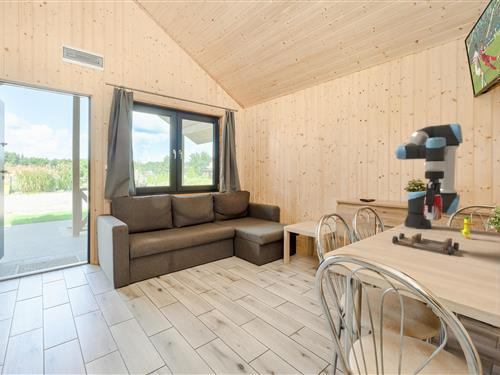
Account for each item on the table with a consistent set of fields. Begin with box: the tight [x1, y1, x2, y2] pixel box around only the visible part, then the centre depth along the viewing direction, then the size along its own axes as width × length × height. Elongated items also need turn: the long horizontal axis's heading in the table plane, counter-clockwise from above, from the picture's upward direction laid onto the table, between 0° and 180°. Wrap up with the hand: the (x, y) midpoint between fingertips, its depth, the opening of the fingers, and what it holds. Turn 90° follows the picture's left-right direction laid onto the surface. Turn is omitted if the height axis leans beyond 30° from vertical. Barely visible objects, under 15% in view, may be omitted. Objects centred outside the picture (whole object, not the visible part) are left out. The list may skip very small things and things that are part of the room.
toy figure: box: [460, 216, 478, 240], centre depth 139 cm, size 7×4×12 cm, turn 48°
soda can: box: [424, 194, 443, 221], centre depth 123 cm, size 7×7×12 cm
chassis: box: [391, 232, 460, 256], centre depth 127 cm, size 13×25×5 cm, turn 40°
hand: (432, 218), depth 123 cm, fingers closed on soda can, 7 cm apart
